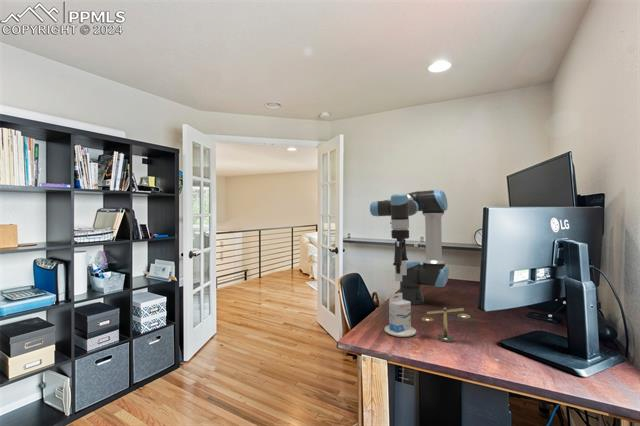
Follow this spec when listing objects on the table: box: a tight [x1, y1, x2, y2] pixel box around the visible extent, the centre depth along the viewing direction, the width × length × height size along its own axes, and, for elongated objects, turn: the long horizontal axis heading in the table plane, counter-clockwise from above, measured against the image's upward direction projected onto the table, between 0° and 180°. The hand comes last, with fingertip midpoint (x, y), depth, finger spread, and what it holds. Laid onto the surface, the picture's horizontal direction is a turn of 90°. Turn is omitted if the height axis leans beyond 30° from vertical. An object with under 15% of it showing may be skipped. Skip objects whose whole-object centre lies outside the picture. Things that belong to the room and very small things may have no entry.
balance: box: [421, 306, 471, 343], centre depth 121 cm, size 6×18×13 cm, turn 66°
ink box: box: [388, 292, 412, 333], centre depth 129 cm, size 8×5×15 cm, turn 123°
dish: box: [384, 324, 417, 338], centre depth 129 cm, size 13×13×1 cm
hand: (401, 277), depth 132 cm, fingers open, 13 cm apart
